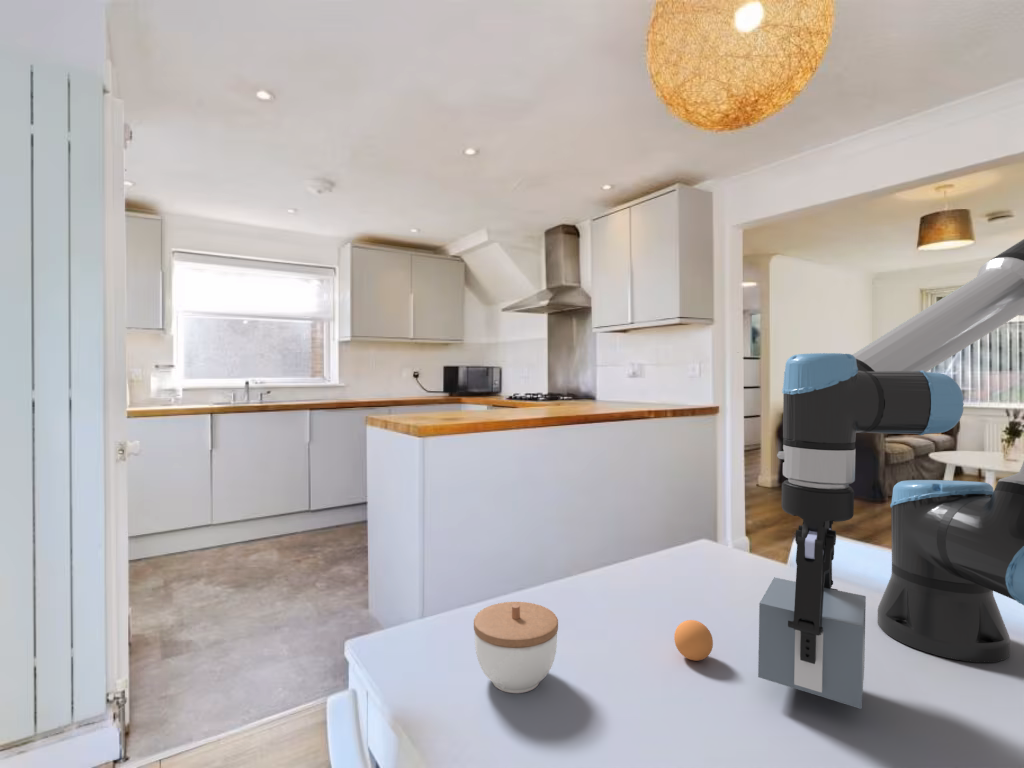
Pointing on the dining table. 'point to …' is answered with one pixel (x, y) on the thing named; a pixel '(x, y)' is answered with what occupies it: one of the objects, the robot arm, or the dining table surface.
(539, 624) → the lidded jar
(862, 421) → the robot arm
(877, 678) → the dining table surface
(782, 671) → the matte gray-blue box
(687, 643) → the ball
